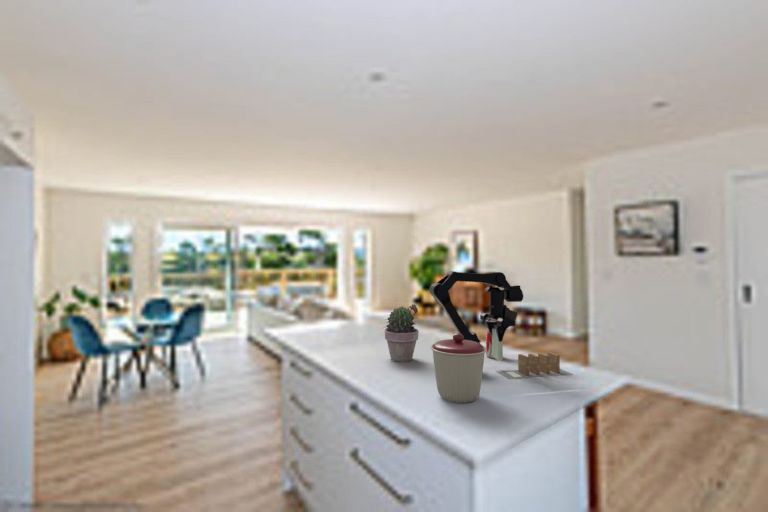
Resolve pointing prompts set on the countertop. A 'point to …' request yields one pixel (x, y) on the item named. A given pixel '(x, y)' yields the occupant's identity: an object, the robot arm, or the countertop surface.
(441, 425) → the countertop surface
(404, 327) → the potted plant
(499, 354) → the tile
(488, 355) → the soda can
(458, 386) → the canister
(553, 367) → the end tile
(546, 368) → the tile
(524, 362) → the tile
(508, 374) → the domino mat
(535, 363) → the tile
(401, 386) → the countertop surface
